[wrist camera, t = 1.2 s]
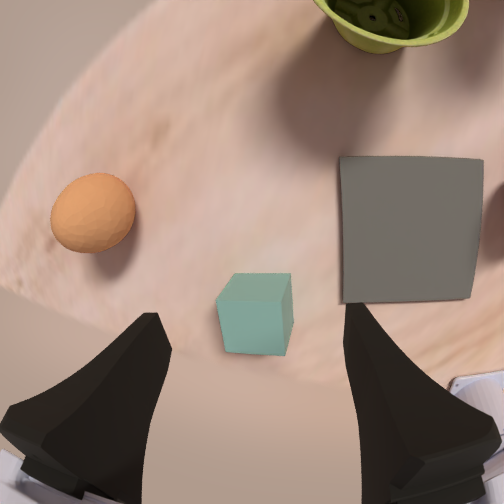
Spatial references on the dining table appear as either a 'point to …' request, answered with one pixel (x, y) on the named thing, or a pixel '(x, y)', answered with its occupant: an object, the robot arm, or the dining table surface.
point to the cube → (256, 313)
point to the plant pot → (394, 22)
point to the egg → (93, 213)
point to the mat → (410, 227)
